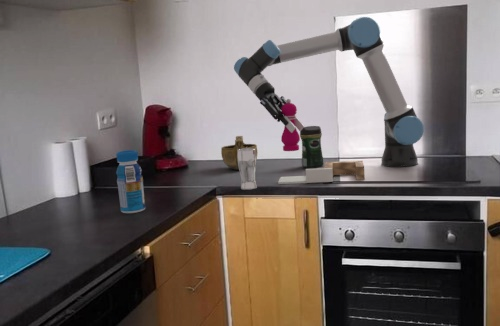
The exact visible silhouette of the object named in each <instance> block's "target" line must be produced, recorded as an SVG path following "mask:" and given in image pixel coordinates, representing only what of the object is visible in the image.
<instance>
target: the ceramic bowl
mask: <svg viewBox="0 0 500 326" xmlns="http://www.w3.org/2000/svg"><path fill="white" fill-rule="evenodd" d="M243 140H244V137H243V135H237V136H235V139H234V144H230V145H224V146H221V149H220V150H221V151H220V152H221V158H222V161H223V164H224V165H225V166H226V167H228V168H230V169H231V170H232V169H233V170H236V171H239V166H238V149H243V148H255V154H256V160H257V158H258V147H257V144H255V143H254V144H253V143H245V142H244V141H243Z"/></svg>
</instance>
